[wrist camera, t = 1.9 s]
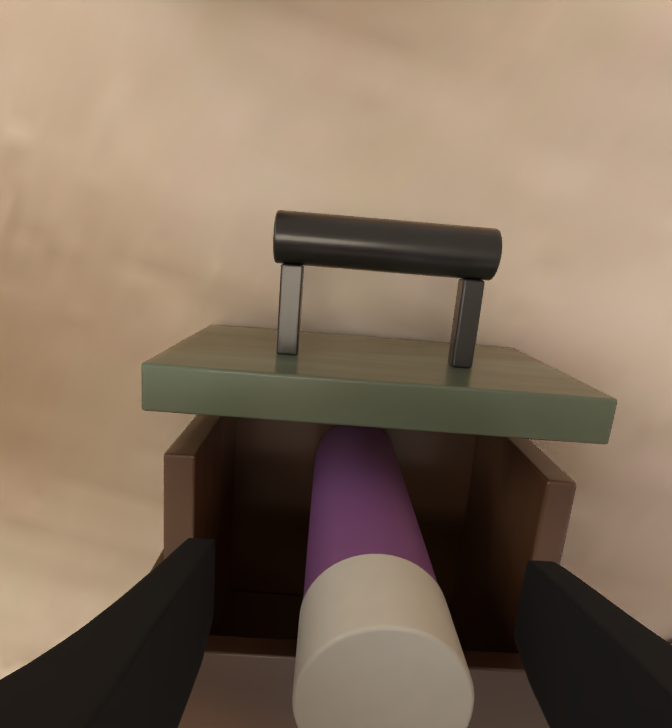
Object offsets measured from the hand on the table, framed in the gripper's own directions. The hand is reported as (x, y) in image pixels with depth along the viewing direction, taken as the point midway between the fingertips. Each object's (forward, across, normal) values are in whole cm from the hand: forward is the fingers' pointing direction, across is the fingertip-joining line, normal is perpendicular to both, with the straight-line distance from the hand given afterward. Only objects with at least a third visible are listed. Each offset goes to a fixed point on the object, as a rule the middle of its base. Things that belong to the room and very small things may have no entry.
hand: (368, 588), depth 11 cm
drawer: (+8, 0, -1) cm, 8 cm away
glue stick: (+7, 0, 0) cm, 7 cm away
